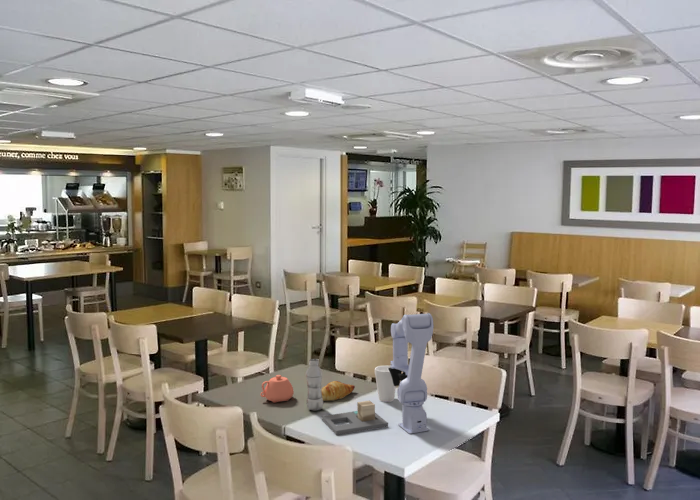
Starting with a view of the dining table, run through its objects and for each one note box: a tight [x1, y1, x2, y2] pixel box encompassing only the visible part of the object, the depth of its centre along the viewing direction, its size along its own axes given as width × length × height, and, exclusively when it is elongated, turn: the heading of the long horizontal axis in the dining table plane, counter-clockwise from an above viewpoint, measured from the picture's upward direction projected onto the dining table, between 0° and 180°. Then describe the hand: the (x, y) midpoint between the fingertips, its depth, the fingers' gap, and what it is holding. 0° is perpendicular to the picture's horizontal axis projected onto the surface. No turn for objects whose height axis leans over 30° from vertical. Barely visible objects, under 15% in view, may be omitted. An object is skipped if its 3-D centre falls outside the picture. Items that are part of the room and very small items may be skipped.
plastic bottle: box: [305, 358, 324, 411], centre depth 240 cm, size 6×7×20 cm
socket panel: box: [321, 410, 389, 436], centre depth 225 cm, size 16×20×2 cm
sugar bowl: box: [260, 374, 295, 404], centre depth 253 cm, size 12×14×10 cm
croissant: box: [321, 380, 356, 402], centre depth 256 cm, size 21×10×8 cm, turn 126°
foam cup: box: [374, 365, 397, 403], centre depth 251 cm, size 10×9×13 cm
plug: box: [356, 400, 376, 422], centre depth 226 cm, size 5×5×7 cm
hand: (400, 388), depth 235 cm, fingers open, 7 cm apart
